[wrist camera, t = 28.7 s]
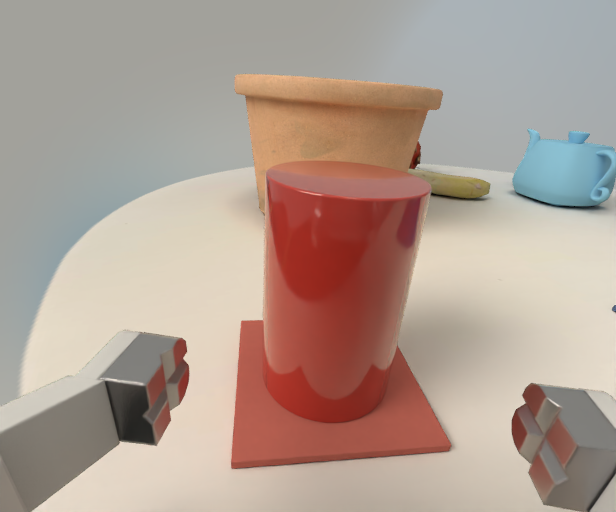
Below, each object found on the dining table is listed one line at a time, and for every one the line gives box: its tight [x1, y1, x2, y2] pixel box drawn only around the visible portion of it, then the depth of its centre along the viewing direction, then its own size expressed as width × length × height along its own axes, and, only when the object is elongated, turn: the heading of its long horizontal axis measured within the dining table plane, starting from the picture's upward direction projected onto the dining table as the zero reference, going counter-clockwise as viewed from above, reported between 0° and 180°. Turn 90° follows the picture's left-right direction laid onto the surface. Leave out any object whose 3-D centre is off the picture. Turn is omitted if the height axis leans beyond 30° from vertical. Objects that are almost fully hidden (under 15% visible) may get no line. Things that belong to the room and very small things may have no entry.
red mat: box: [231, 320, 451, 468], centre depth 18 cm, size 9×9×1 cm
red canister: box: [262, 161, 432, 423], centre depth 16 cm, size 6×6×10 cm
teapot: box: [513, 129, 616, 206], centre depth 56 cm, size 13×11×18 cm
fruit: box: [407, 169, 490, 198], centre depth 56 cm, size 7×15×3 cm, turn 50°
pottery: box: [235, 74, 443, 214], centre depth 41 cm, size 22×22×14 cm
